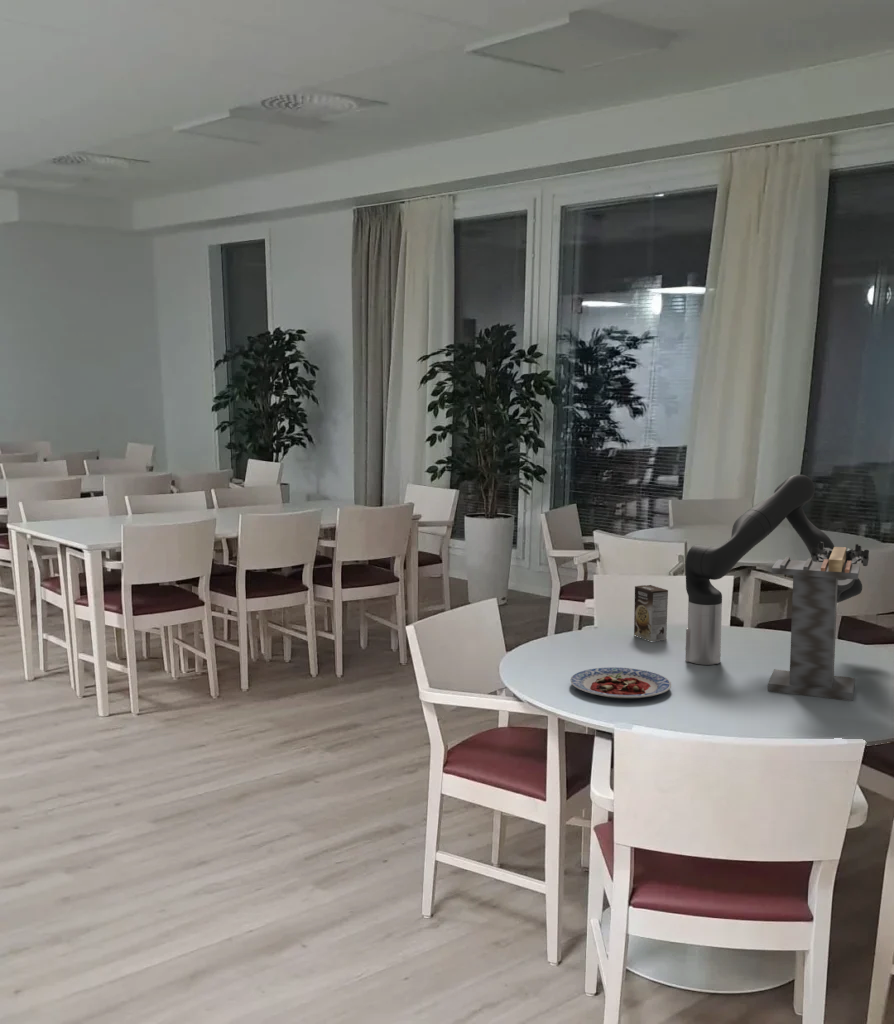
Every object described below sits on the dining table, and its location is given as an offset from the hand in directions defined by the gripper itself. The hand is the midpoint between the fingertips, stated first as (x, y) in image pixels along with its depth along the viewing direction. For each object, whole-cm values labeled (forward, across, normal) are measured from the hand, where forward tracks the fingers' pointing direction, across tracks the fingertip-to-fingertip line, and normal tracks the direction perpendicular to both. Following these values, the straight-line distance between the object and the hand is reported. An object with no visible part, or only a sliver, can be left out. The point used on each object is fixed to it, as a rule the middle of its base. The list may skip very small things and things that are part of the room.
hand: (839, 546), depth 250 cm
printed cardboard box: (-39, -55, +19) cm, 70 cm away
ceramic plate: (+9, -50, +47) cm, 69 cm away
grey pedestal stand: (-8, -5, +37) cm, 38 cm away
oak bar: (+4, 0, +7) cm, 8 cm away
